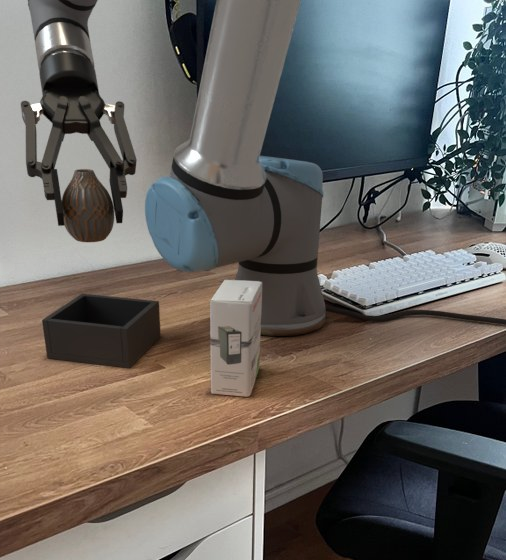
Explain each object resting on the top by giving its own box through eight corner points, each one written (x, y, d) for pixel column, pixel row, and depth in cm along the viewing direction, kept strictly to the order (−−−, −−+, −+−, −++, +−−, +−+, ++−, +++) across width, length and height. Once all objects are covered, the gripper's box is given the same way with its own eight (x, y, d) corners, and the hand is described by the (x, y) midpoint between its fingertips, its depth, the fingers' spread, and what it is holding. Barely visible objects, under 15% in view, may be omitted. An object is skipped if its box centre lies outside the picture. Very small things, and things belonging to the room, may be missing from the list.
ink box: (223, 366, 89) (223, 277, 84) (260, 369, 89) (263, 279, 83) (209, 394, 82) (208, 298, 76) (250, 398, 82) (252, 301, 76)
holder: (160, 337, 98) (159, 301, 95) (129, 368, 88) (126, 329, 86) (85, 328, 100) (81, 293, 98) (46, 358, 91) (41, 319, 88)
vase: (126, 240, 94) (121, 171, 89) (82, 248, 89) (75, 176, 85) (97, 231, 98) (91, 165, 93) (54, 238, 94) (46, 169, 89)
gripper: (137, 92, 100) (163, 231, 95) (-6, 91, 95) (13, 238, 90) (141, 50, 93) (169, 198, 88) (-13, 47, 88) (7, 203, 83)
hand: (90, 218), depth 89 cm, fingers closed on vase, 7 cm apart
